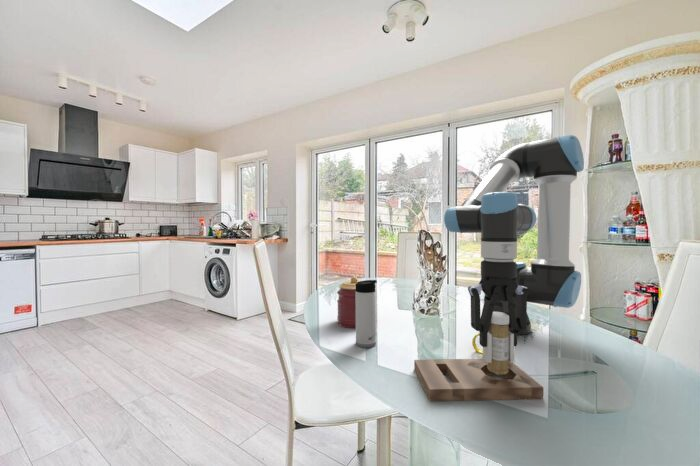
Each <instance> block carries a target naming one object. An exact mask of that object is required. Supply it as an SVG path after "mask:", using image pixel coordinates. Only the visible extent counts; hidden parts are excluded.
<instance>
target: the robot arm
mask: <svg viewBox="0 0 700 466" xmlns="http://www.w3.org/2000/svg"><path fill="white" fill-rule="evenodd" d="M584 167H585V161H584V153H583V149H582V145H581V142H580V140H579V138H578V137H577V136H575V135H573V134H569V135H563V136H562V135H561V136H560V135H558V136H555V137H550V138H546V139H540V140H535V141H529V142H524V143H520V144H518V145H515V146H513V147H512V148H510V149H508V150H506V151H505V152H504V153H501V155H499V156H498V157H497V158H496V159H495V160H494V161H493V163H491V165H490V168H489V172H488V173H486V175H485V177H483V179H482V180H481V181H480V182H479V184H478V185H477V186H476V187H475V188H474V190H473V191H472V192H471V193H470V194H469V196H467V198H466V199H465V200H464V201H463V203H462V204H461V205H460V206H456V205H455V206H451V207H448V208H447V209H446V210H445V213H444V215H443V223H444V226H445V228H446V230H447V231H449V232H451V233H460V234H470V233H471V234H473V233H474V234H476V233H478V234H480V258H482V260H481V261H480V280H479V282H478V284H477V285H474V286H472V285H469V286H467V290H468V293H469V296H470V326H471V328H473V329H474V330H475V331H477V332H479V336H478V337H479V339H478V340H479V342H478V343H479V345H480V346H481V347H482V351H483V354H482V359H485V360H486V361H487V362H488V363H492V334H491V333H489V332H488V331H489V326H490V322H491V318H492V313H493V312H503V313H506V314H508V315H509V325H508V336H509V359H508V361H509V362H513V363H514V362H515V361H514V360H515V359H514V358H515V350H514V349H515V347H517V346H518V335H527V334H530V333H531V332H532V324H531V320H530V317H529V314H528V311H527V309H528V305H527V304H528V303H533V304H537V305H545V306H551V307H553V308H557V307H558V308H564V309H565V308H567V309H569V308H572V307H573V306H575V305H576V302H577V300H578V297H579V295H580V291H581V288H582V287H581V285H582V274H581V272H580V271H578V270H575V268H576V266H575V265H576V264H574V263H573V262H572V261H571V260H570V226H571V225H570V222H571V189H572V188H571V187H572V185H571V184H572V183H574V181H576V179H578V176H577V175H578V173H581V172H582V171H584V169H585V168H584ZM523 178H524V179H525V178H533V182H534V183H535V184H536V185H537V186H538V198H537V199H538V200H537V203H538V204H537V208H538V210H537V214H536V212H535V210H534V209H533V208H532V207H530V206H529V205H526V204H524V203H519V202H518V196H517V194H516V193H515V192H512V191H506V190H507V188H508V187H509V186H510V185H511V184H513V183H516V182H517V180H518V179H523ZM536 223H537V242H536V243H537V244H536V245H537V246H536V258H535V259H534V260H533V261H531V263H530V265H531V266H530V267H528V266H527V264H526V262H522V261H521V262H520V261H515V260H516V259H517V258H518V257H517V255H518V234H523V233H527V232H529V231H530V230H532V229H533V228H534V226H535V225H536ZM481 291H482V292H483V293H484V296H483V307H482V310H481V296H480V295H481V293H482V292H481ZM481 311H482V312H481Z"/></svg>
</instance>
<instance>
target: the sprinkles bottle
mask: <svg viewBox="0 0 700 466" xmlns="http://www.w3.org/2000/svg"><path fill="white" fill-rule="evenodd" d="M508 325H509V315H508V314H506V313H503V312H493V313H492V318H491V322H490V326H489V331H488V332H489V333H491V334H492V363H488V366H487V368H488V370H489V371H491V372H492V373H495V374H499V375H505V374H507V373H508V372H509V370H508V359H509V336H508ZM499 375H498V376H499Z"/></svg>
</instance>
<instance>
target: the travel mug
mask: <svg viewBox="0 0 700 466" xmlns="http://www.w3.org/2000/svg"><path fill="white" fill-rule="evenodd" d="M359 281H360V282H357V283H356V291H355V292H356V293H355V302H356V328H355V345H356V346H357V347H359V348H361V349H362V348H363V349H369V348H371V349H372V348H373V347H375V346H376V344H377V320H376V319H377V315H376V314H377V313H376V312H377V310H376V307H377V305H376V304H377V303H376V302H377V300H376V299H377V296H376V284H377V283H378V282H377V279H368V280H359Z"/></svg>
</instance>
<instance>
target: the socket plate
mask: <svg viewBox="0 0 700 466" xmlns="http://www.w3.org/2000/svg"><path fill="white" fill-rule="evenodd" d="M413 361H414V364H413V366H414V368H413V369H414V373H416V376H417V378H418V379H419V381H420V383H421V386H422V388H423V389H424V392H425V394H426V396H427V399H428V401H429V402H445V401H446V402H453V401H456V402H461V401H462V402H463V401H501V400H502V401H504V400H509V401H512V400H513V401H515V400H543V399H544V386H542V384H540V383H539V382H538V381H536V380H535V378H533V377H531V376H530V375H529V374H528V373H526V372H525V371H524V370H523V369H522V368H520V367H519V366H518V365H516V364H515V363H514V362H509V361H508V370H509V372H508V373H507V374H505V375H499V374H495V373H492V372H491V371H489V370H488V368H487V366H488V362H487V361H486V360H485V359H484V358H450V359H449V358H447V359H446V358H443V359H439V358H438V359H433V358H431V359H414V360H413ZM444 374H445V375H446V376H447V378H448V377H449V378H448V379H449V380H450V382H449V381H448V380H447V378H446V376H444ZM493 376H500V377H503V378H505V379H503V378H502V379H499V378H496V377H493Z"/></svg>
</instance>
